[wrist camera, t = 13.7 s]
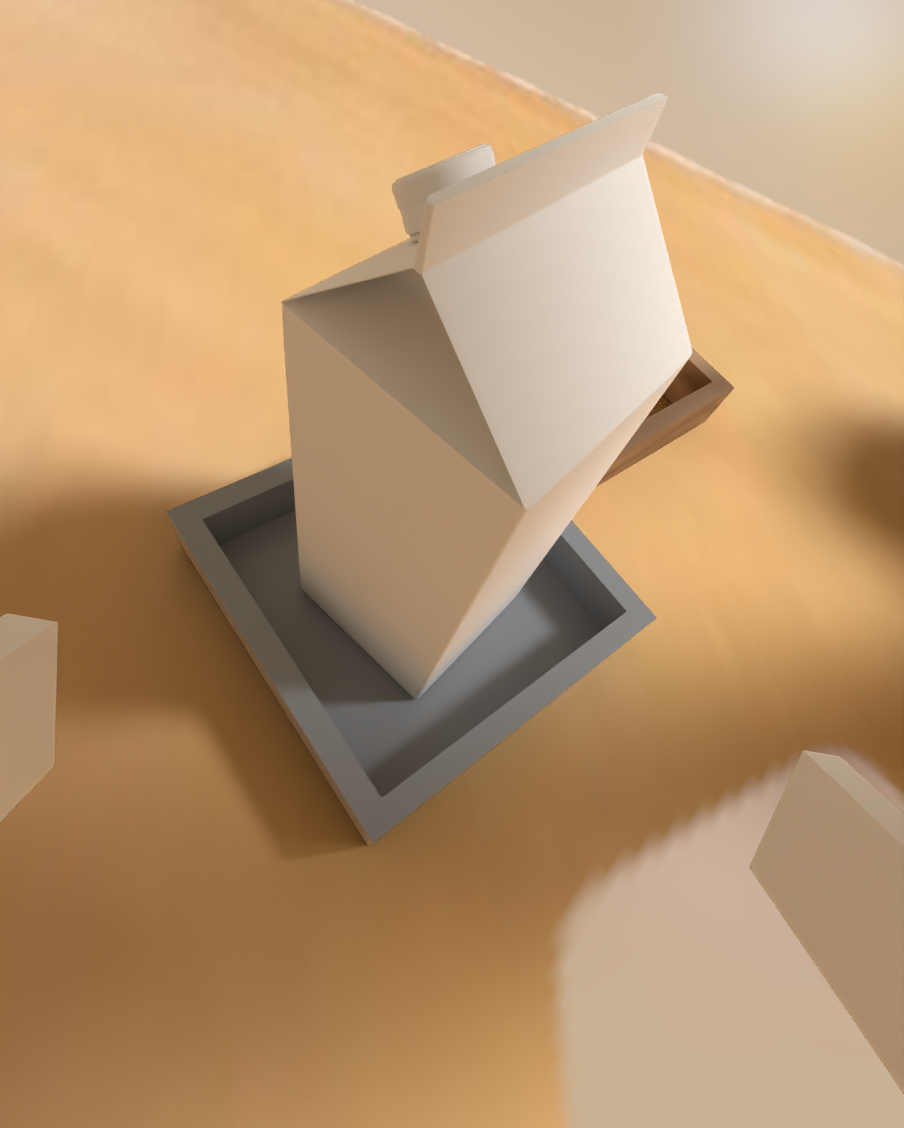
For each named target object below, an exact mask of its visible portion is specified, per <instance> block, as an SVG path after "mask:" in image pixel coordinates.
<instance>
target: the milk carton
mask: <svg viewBox="0 0 904 1128" xmlns="http://www.w3.org/2000/svg"><path fill="white" fill-rule="evenodd" d="M667 99H668V97H666V96H664V95H663V94H661V93H656V94H654V95H652V96H649V97H647V98H645V99H643V100H641V101H638V102H636V103H634V104H632V105H629V106H627V107H625V108H623V109H621V110H618V111H616V112H614V113H611V114H609V115H607V116H605V117H603V118H600V119H598V120H596V121H594V122H591V123H589V124H587V125H585V126H582V127H580V128H578V129H576V130H573V131H571V132H569V133H567V134H564V135H562V136H560V137H558V138H556V139H553V140H551V141H549V142H547V143H544V144H542V145H540V146H538V147H535V148H533V149H531V150H529V151H526V152H524V153H522V154H520V155H518V156H515V157H513V158H511V159H509V160H506V161H504V162H502V163H500V164H497V165H496V162H495V158H494V153H493V149H492V147H491V146H490V145H484V144H482V145H480V146H477V147H475V148H472V149H470V150H467V151H465V152H462V153H460V154H458V155H455V156H453V157H450V158H448V159H445V160H443V161H441V162H438V163H436V164H433V165H431V166H428V167H426V168H424V169H421V170H419V171H416V172H414V173H411V174H409V175H407V176H404V177H402V178H399V179H397V180H396V182H394V183H393V184H392V191H393V194H394V197H395V200H396V203H397V206H398V209H399V210H400V212H401V215H402V218H403V224H404V227H405V230H406V233H407V234H411V235H410V238H409V239H407V240H405V241H403V242H401V243H399V244H397V245H395V246H393V247H391V248H389V249H387V250H385V251H383V252H381V253H379V254H377V255H374V256H372V257H370V258H368V259H366V260H364V261H362V262H360V263H358V264H356V265H354V266H352V267H350V268H348V269H346V270H343V271H341V272H339V273H337V274H335V275H333V276H331V277H329V278H327V279H325V280H323V281H321V282H319V283H317V284H315V285H313V286H311V287H309V288H307V289H305V290H303V291H301V292H299V293H297V294H295V295H293V296H291V297H289V298H288V299H286V300H284V301H282V302H281V303H282V318H283V336H284V351H285V366H286V380H287V395H288V409H289V424H290V438H291V452H292V467H293V481H294V496H295V510H296V525H297V539H298V554H299V568H300V582H301V589H302V590H303V591H304V592H305V593H306V594H307V595H308V596H309V597H310V598H311V599H312V600H313V601H314V602H315V603H316V604H317V605H318V606H319V607H320V608H321V609H322V610H324V611H325V612H326V613H327V614H328V615H329V616H330V617H331V618H332V619H333V620H334V621H335V622H336V623H337V624H338V625H339V626H340V627H341V628H342V629H343V630H344V631H345V632H346V633H347V634H348V635H349V636H350V637H351V638H352V639H353V640H354V641H355V642H357V643H358V644H359V645H360V646H361V647H362V648H363V649H364V650H365V651H366V652H367V653H368V654H369V655H370V656H371V657H372V658H373V659H374V660H375V661H376V662H377V663H378V664H379V665H380V666H381V667H382V668H383V669H384V670H385V671H386V672H387V673H389V674H390V675H391V676H392V677H393V678H394V679H395V680H396V681H397V682H398V683H399V684H400V685H401V686H402V687H403V688H404V689H405V690H406V691H407V692H408V693H409V694H410V695H411V696H412V697H413V698H415V699H418V698H419V697H420V696H421V695H422V694H423V693H424V692H425V691H426V690H427V689H428V688H429V687H430V686H431V685H432V684H433V683H434V682H435V681H436V680H437V679H438V678H439V677H440V676H441V675H442V674H443V673H444V672H445V671H446V670H447V668H448V667H449V666H450V665H451V664H452V663H453V662H454V661H455V660H456V659H457V658H458V657H459V656H460V655H461V654H462V653H463V652H464V651H465V650H466V649H467V648H468V646H469V645H470V644H471V643H472V642H473V641H474V640H475V639H476V638H477V637H478V636H479V635H480V634H481V633H482V632H483V631H484V630H485V629H486V628H487V627H488V626H489V625H490V623H491V622H492V621H493V620H494V619H495V618H496V617H497V616H498V615H499V614H500V613H501V612H502V611H503V610H504V609H505V608H506V607H507V606H508V605H509V604H510V602H511V601H512V600H513V599H514V598H515V597H516V595H517V594H518V593H519V591H520V590H521V589H522V587H523V586H524V584H525V583H526V582H527V580H528V579H529V578H530V576H531V575H532V573H533V572H534V571H535V569H536V568H537V567H538V565H539V564H540V562H541V561H542V560H543V558H544V557H545V556H546V554H547V553H548V551H549V550H550V549H551V547H552V546H553V545H554V543H555V542H556V540H557V539H558V538H559V536H560V535H561V534H562V532H563V531H564V529H565V528H566V527H567V525H568V524H569V523H570V521H571V520H572V519H573V517H574V516H575V514H576V513H577V512H578V510H579V509H580V508H581V506H582V505H583V503H584V502H585V501H586V499H587V498H588V497H589V495H590V494H591V492H592V491H593V490H594V488H595V487H596V486H597V484H598V483H599V481H600V480H601V479H602V477H603V476H604V475H605V473H606V472H607V470H608V469H609V468H610V466H611V465H612V464H613V462H614V461H615V459H616V458H617V457H618V455H619V454H620V453H621V451H622V450H623V448H624V447H625V446H626V444H627V443H628V442H629V440H630V439H631V438H632V436H633V435H634V433H635V432H636V431H637V429H638V428H639V427H640V425H641V424H642V422H643V421H644V420H645V418H646V417H647V416H648V414H649V413H650V411H651V410H652V409H653V407H654V406H655V405H656V403H657V402H658V400H659V399H660V398H661V396H662V395H663V394H664V392H665V391H666V389H667V388H668V387H669V385H670V384H671V383H672V381H673V380H674V378H675V377H676V376H677V374H678V373H679V372H680V370H681V369H682V367H683V366H684V365H685V363H686V362H687V361H688V359H689V358H690V356H691V354H692V348H691V344H690V340H689V336H688V332H687V328H686V324H685V320H684V316H683V312H682V308H681V304H680V300H679V296H678V292H677V288H676V285H675V281H674V277H673V273H672V269H671V265H670V261H669V257H668V253H667V249H666V245H665V241H664V237H663V233H662V229H661V226H660V222H659V218H658V214H657V210H656V206H655V202H654V198H653V194H652V190H651V186H650V182H649V178H648V174H647V170H646V167H645V163H644V159H643V152H644V150H645V148H646V146H647V143H648V141H649V139H650V137H651V135H652V132H653V130H654V128H655V126H656V124H657V121H658V119H659V117H660V115H661V113H662V110H663V108H664V106H665V104H666V102H667Z"/></svg>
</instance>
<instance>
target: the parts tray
mask: <svg viewBox="0 0 904 1128" xmlns="http://www.w3.org/2000/svg"><path fill="white" fill-rule="evenodd" d="M166 512H167V514H168V516H169V519H170V521H171V523H172V526H173V528H174V530H175V533H176V535H177V537H178V539H179V542H180V544H181V546H182V548H183V550H184V551H185V553H186V555H187V556H188V558H189V560H190V561H191V563H192V564H193V566H194V568H195V569H196V571H197V572H198V574H199V576H200V577H201V579H202V580H203V582H204V584H205V585H206V587H207V589H208V590H209V592H210V593H211V595H212V597H213V598H214V600H215V601H216V603H217V605H218V606H219V608H220V609H221V611H222V613H223V614H224V616H225V618H226V619H227V621H228V622H229V624H230V626H231V627H232V629H233V630H234V632H235V634H236V635H237V637H238V638H239V640H240V642H241V643H242V645H243V647H244V648H245V650H246V651H247V653H248V655H249V656H250V658H251V659H252V661H253V663H254V664H255V666H256V667H257V669H258V671H259V672H260V674H261V676H262V677H263V679H264V680H265V682H266V684H267V685H268V687H269V688H270V690H271V692H272V693H273V695H274V696H275V698H276V700H277V701H278V703H279V705H280V706H281V708H282V709H283V711H284V713H285V714H286V716H287V717H288V719H289V721H290V722H291V724H292V725H293V727H294V729H295V730H296V732H297V734H298V735H299V737H300V738H301V740H302V742H303V743H304V745H305V746H306V748H307V750H308V751H309V753H310V755H311V756H312V758H313V759H314V761H315V763H316V764H317V766H318V767H319V769H320V771H321V772H322V774H323V775H324V777H325V779H326V780H327V782H328V784H329V785H330V787H331V788H332V790H333V792H334V793H335V795H336V796H337V798H338V800H339V801H340V803H341V804H342V806H343V808H344V809H345V811H346V813H347V814H348V816H349V817H350V819H351V821H352V822H353V824H354V825H355V827H356V829H357V830H358V832H359V833H360V835H361V837H362V838H363V840H364V842H365V843H366V845H367V846H368V845H370V844H373V843H374V842H376V841H377V840H378V839H379V838H381V837H382V836H383V835H384V834H386V833H387V832H388V831H389V830H391V829H392V828H393V827H394V826H396V825H397V824H398V823H399V822H401V821H402V820H403V819H404V818H406V817H407V816H408V815H410V814H411V813H412V812H413V811H415V810H416V809H417V808H418V807H420V806H421V805H422V804H423V803H425V802H426V801H427V800H428V799H430V798H431V797H432V796H433V795H435V794H436V793H437V792H438V791H440V790H441V789H442V788H443V787H445V786H446V785H447V784H448V783H450V782H451V781H452V780H454V779H455V778H456V777H457V776H459V775H460V774H461V773H462V772H464V771H465V770H466V769H467V768H469V767H470V766H471V765H472V764H474V763H475V762H476V761H477V760H479V759H480V758H481V757H482V756H484V755H485V754H486V753H487V752H489V751H490V750H491V749H492V748H494V747H495V746H496V745H498V744H499V743H500V742H501V741H503V740H504V739H505V738H506V737H508V736H509V735H510V734H511V733H513V732H514V731H515V730H516V729H518V728H519V727H520V726H521V725H523V724H524V723H525V722H526V721H528V720H529V719H530V718H531V717H533V716H534V715H535V714H536V713H538V712H539V711H540V710H542V709H543V708H544V707H545V706H547V705H548V704H549V703H550V702H552V701H553V700H554V699H555V698H557V697H558V696H559V695H560V694H562V693H563V692H564V691H565V690H567V689H568V688H569V687H570V686H572V685H573V684H574V683H575V682H577V681H578V680H579V679H580V678H582V677H583V676H584V675H586V674H587V673H588V672H589V671H591V670H592V669H593V668H594V667H596V666H597V665H598V664H599V663H601V662H602V661H603V660H604V659H606V658H607V657H608V656H609V655H611V654H612V653H613V652H614V651H616V650H617V649H618V648H619V647H621V646H622V645H623V644H625V643H626V642H627V641H628V640H630V639H631V638H632V637H633V636H635V635H636V634H637V633H638V632H640V631H641V630H642V629H643V628H645V627H646V626H647V625H648V624H650V623H651V622H652V621H653V620H655V619H656V616H655V615H654V614H653V613H652V612H651V611H650V610H649V608H648V607H647V606H646V605H645V604H644V603H643V602H642V600H641V599H640V598H639V597H638V596H637V595H636V594H635V592H634V591H633V590H632V589H631V588H630V587H629V586H628V584H627V583H626V582H625V581H624V580H623V579H622V578H621V576H620V575H619V574H618V573H617V572H616V571H615V570H614V568H613V567H612V566H611V565H610V564H609V563H608V562H607V560H606V559H605V558H604V557H603V556H602V555H601V554H600V552H599V551H598V550H597V549H596V548H595V547H594V546H593V544H592V543H591V542H590V541H589V540H588V539H587V538H586V536H585V535H584V534H583V533H582V532H581V531H580V530H579V528H578V527H577V526H576V525H575V524H574V523H573V521H572V520H571V521H570V523H569V524H568V525H567V527H566V528H565V529H564V531H563V532H562V534H561V535H560V536H559V538H558V539H557V540H556V542H555V543H554V545H553V546H552V547H551V549H550V550H549V551H548V553H547V554H546V556H545V557H544V558H543V560H542V561H541V562H540V564H539V565H538V567H537V568H536V569H535V571H534V572H533V573H532V575H531V576H530V578H529V579H528V580H527V582H526V583H525V584H524V586H523V587H522V589H521V590H520V591H519V593H518V594H517V595H516V597H515V598H514V599H513V600H512V601H511V602H510V604H509V605H508V606H507V607H506V608H505V609H504V610H503V611H502V612H501V613H500V614H499V615H498V616H497V617H496V618H495V619H494V620H493V621H492V622H491V623H490V625H489V626H488V627H487V628H486V629H485V630H484V631H483V632H482V633H481V634H480V635H479V636H478V637H477V638H476V639H475V640H474V641H473V642H472V643H471V644H470V645H469V646H468V648H467V649H466V650H465V651H464V652H463V653H462V654H461V655H460V656H459V657H458V658H457V659H456V660H455V661H454V662H453V663H452V664H451V665H450V666H449V667H448V668H447V670H446V671H445V672H444V673H443V674H442V675H441V676H440V677H439V678H438V679H437V680H436V681H435V682H434V683H433V684H432V685H431V686H430V687H429V688H428V689H427V690H426V691H425V692H424V693H423V694H422V695H421V696H420V697H419V698H418V699H415V698H413V697H412V696H411V695H410V694H409V693H408V692H407V691H406V690H405V689H404V688H403V687H402V686H401V685H400V684H399V683H398V682H397V681H396V680H395V679H394V678H393V677H392V676H391V675H390V674H389V673H387V672H386V671H385V670H384V669H383V668H382V667H381V666H380V665H379V664H378V663H377V662H376V661H375V660H374V659H373V658H372V657H371V656H370V655H369V654H368V653H367V652H366V651H365V650H364V649H363V648H362V647H361V646H360V645H359V644H358V643H357V642H355V641H354V640H353V639H352V638H351V637H350V636H349V635H348V634H347V633H346V632H345V631H344V630H343V629H342V628H341V627H340V626H339V625H338V624H337V623H336V622H335V621H334V620H333V619H332V618H331V617H330V616H329V615H328V614H327V613H326V612H325V611H324V610H322V609H321V608H320V607H319V606H318V605H317V604H316V603H315V602H314V601H313V600H312V599H311V598H310V597H309V596H308V595H307V594H306V593H305V592H304V591H303V590H302V589H301V582H300V568H299V554H298V539H297V525H296V510H295V496H294V481H293V467H292V458H291V459H289V460H286V461H284V462H282V463H279V464H277V465H275V466H272V467H270V468H267V469H265V470H263V471H260V472H258V473H256V474H253V475H251V476H249V477H246V478H244V479H242V480H239V481H237V482H235V483H232V484H230V485H228V486H225V487H223V488H220V489H218V490H216V491H213V492H211V493H209V494H206V495H204V496H202V497H199V498H197V499H195V500H192V501H190V502H188V503H185V504H183V505H181V506H178V507H176V508H174V509H171V510H169V511H166Z"/></svg>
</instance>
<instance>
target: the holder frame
mask: <svg viewBox="0 0 904 1128" xmlns="http://www.w3.org/2000/svg"><path fill="white" fill-rule="evenodd" d="M691 348H692V347H691ZM733 389H734V387H733V386H732V385H731V384H730V383H729V382H728V381H727V380H726V379H725V378H724V377H723V376H721V375H720V374H719V373H718V372H717V371H716V370H715V369H714V368H713V367H712V366H711V365H710V364H709V363H708V362H707V361H706V360H704V359H703V358H702V357H701V356H700V355H699V354H698V353H697V352H696V351H695V350H694V349H693V348H692V354H691V356H690V358H689V359H688V361H687V362H686V363H685V365H684V366H683V367H682V369H681V370H680V372H679V373H678V374H677V376H676V377H675V378H674V380H673V381H672V383H671V384H670V385H669V387H668V388H667V389H666V391H665V392H664V394H663V396H664V397H665V398H666V399H667V400H668V401H669V402H670V403H671V405H670V406H668V407H666V408H664V409H662V410H661V411H659V412H657V413H655V414H653V415H652V416H650V417H648V418H646V419H645V420H644V421H643V422H642V424H641V425H640V427H639V428H638V429H637V431H636V432H635V433H634V435H633V436H632V438H631V439H630V440H629V442H628V443H627V444H626V446H625V447H624V448H623V450H622V451H621V453H620V454H619V455H618V457H617V458H616V459H615V461H614V462H613V464H612V465H611V466H610V468H609V469H608V470H607V472H606V473H605V475H604V476H603V477H602V479H601V480H600V481H599V483H598V484H597V486H598V485H600V484H602V483H603V482H605V481H607V480H608V479H610V478H612V477H613V476H615V475H617V474H618V473H620V472H622V471H623V470H625V469H627V468H628V467H630V466H632V465H633V464H635V463H637V462H638V461H640V460H642V459H643V458H645V457H647V456H648V455H650V454H652V453H653V452H655V451H657V450H658V449H660V448H662V447H663V446H665V445H667V444H668V443H670V442H672V441H673V440H675V439H677V438H678V437H680V436H682V435H683V434H685V433H687V432H688V431H690V430H692V429H693V428H695V427H697V426H698V425H700V424H702V423H703V422H705V421H706V420H707V419H708V417H709V416H710V415H711V414H712V413H713V412H714V411H715V409H716V408H717V407H718V406H719V405H720V404H721V402H722V401H723V400H724V399H725V398H726V397H727V396H728V394H729V393H730V392H731V391H732V390H733ZM597 486H596V487H597Z"/></svg>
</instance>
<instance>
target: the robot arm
mask: <svg viewBox="0 0 904 1128" xmlns="http://www.w3.org/2000/svg"><path fill="white" fill-rule="evenodd" d="M57 647H58V622H55V621H49V620H44V619H38V618H32V617H26V616H20V615H15V614H9V613H7V614H5V615H3V616H1V617H0V822H1V821H2V820H3V819H4V818H5V817H6V816H7V815H8V814H9V813H10V812H11V811H12V810H13V809H14V808H15V807H16V806H17V804H18V803H19V802H20V801H21V800H22V799H23V798H24V797H25V796H26V795H27V794H28V793H29V792H30V791H31V790H32V789H33V788H34V787H35V786H36V785H37V784H38V783H39V782H40V781H41V780H42V779H43V778H44V777H45V776H46V775H47V773H48V772H49V771H50V770H51V769H52V768H53V767H54V763H55V724H56V685H57ZM750 869H751V870H752V872H753V873H754V875H755V876H756V878H757V879H758V881H759V882H760V883H761V885H762V886H763V888H764V890H765V891H766V892H767V894H768V895H769V897H770V898H771V900H772V901H773V903H774V904H775V906H776V907H777V909H778V910H779V911H780V913H781V914H782V916H783V917H784V919H785V920H786V921H787V923H788V925H789V926H790V928H791V929H792V931H793V932H794V934H795V935H796V937H797V938H798V939H799V941H800V942H801V944H802V945H803V947H804V948H805V950H806V951H807V953H808V954H809V956H810V957H811V958H812V960H813V961H814V963H815V964H816V966H817V967H818V969H819V970H820V972H821V973H822V975H823V976H824V978H825V979H826V980H827V982H828V983H829V985H830V986H831V988H832V989H833V991H834V992H835V994H836V995H837V997H838V998H839V1000H840V1001H841V1003H842V1004H843V1005H844V1007H845V1009H846V1010H847V1011H848V1013H849V1014H850V1016H851V1017H852V1019H853V1020H854V1022H855V1023H856V1025H857V1026H858V1028H859V1029H860V1030H861V1032H862V1033H863V1035H864V1036H865V1038H866V1039H867V1041H868V1042H869V1044H870V1045H871V1047H872V1048H873V1050H874V1051H875V1053H876V1054H877V1055H878V1057H879V1058H880V1060H881V1061H882V1063H883V1064H884V1066H885V1067H886V1069H887V1070H888V1072H889V1073H890V1075H891V1076H892V1077H893V1079H894V1080H895V1082H896V1083H897V1085H898V1086H899V1088H900V1089H901V1091H902V1092H903V1094H904V812H903V811H901V810H900V809H899V808H898V807H897V806H896V805H895V804H894V803H892V802H891V801H890V800H889V799H888V798H887V797H886V796H884V795H883V794H882V793H881V792H880V791H879V790H878V789H877V788H875V787H874V786H873V785H872V784H871V783H870V782H868V780H866V779H865V778H864V777H863V776H862V775H861V774H860V773H858V772H857V771H856V770H855V769H854V768H853V767H852V766H851V765H849V764H848V763H847V762H846V761H845V760H844V759H843V758H842V757H840V756H835V755H829V754H823V753H818V752H812V751H806V750H803V751H802V753H801V756H800V758H799V760H798V762H797V764H796V767H795V769H794V771H793V773H792V775H791V777H790V780H789V782H788V784H787V786H786V788H785V791H784V793H783V795H782V797H781V799H780V801H779V804H778V806H777V808H776V810H775V812H774V815H773V817H772V819H771V821H770V823H769V825H768V828H767V830H766V832H765V834H764V836H763V839H762V841H761V843H760V845H759V847H758V849H757V852H756V854H755V856H754V858H753V860H752V863H751V865H750Z"/></svg>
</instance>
